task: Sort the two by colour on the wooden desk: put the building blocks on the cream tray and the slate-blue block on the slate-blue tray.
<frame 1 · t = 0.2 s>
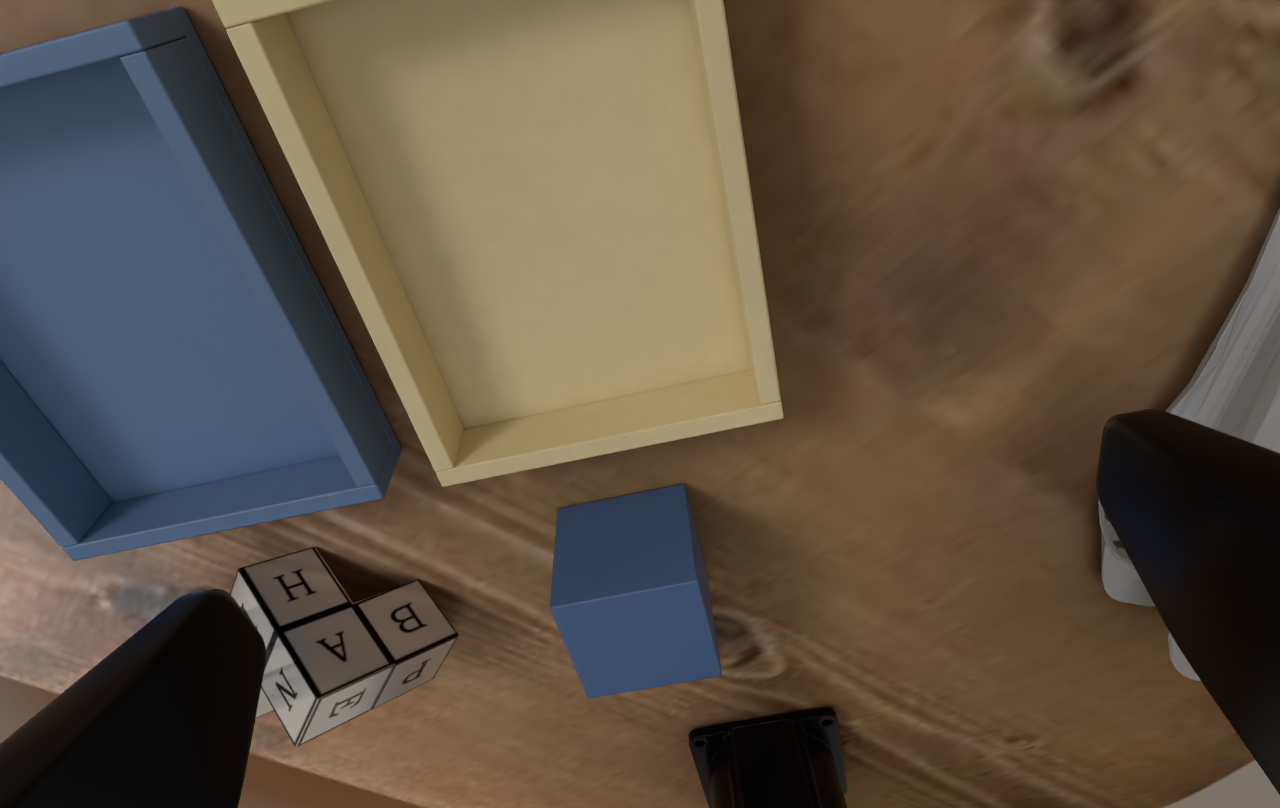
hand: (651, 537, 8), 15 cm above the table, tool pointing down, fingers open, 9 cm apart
cream tray: (550, 208, 21), on the table
slate-blue tray: (143, 303, 22), on the table
building blocks: (323, 597, 29), on the table
blue block: (634, 542, 28), on the table
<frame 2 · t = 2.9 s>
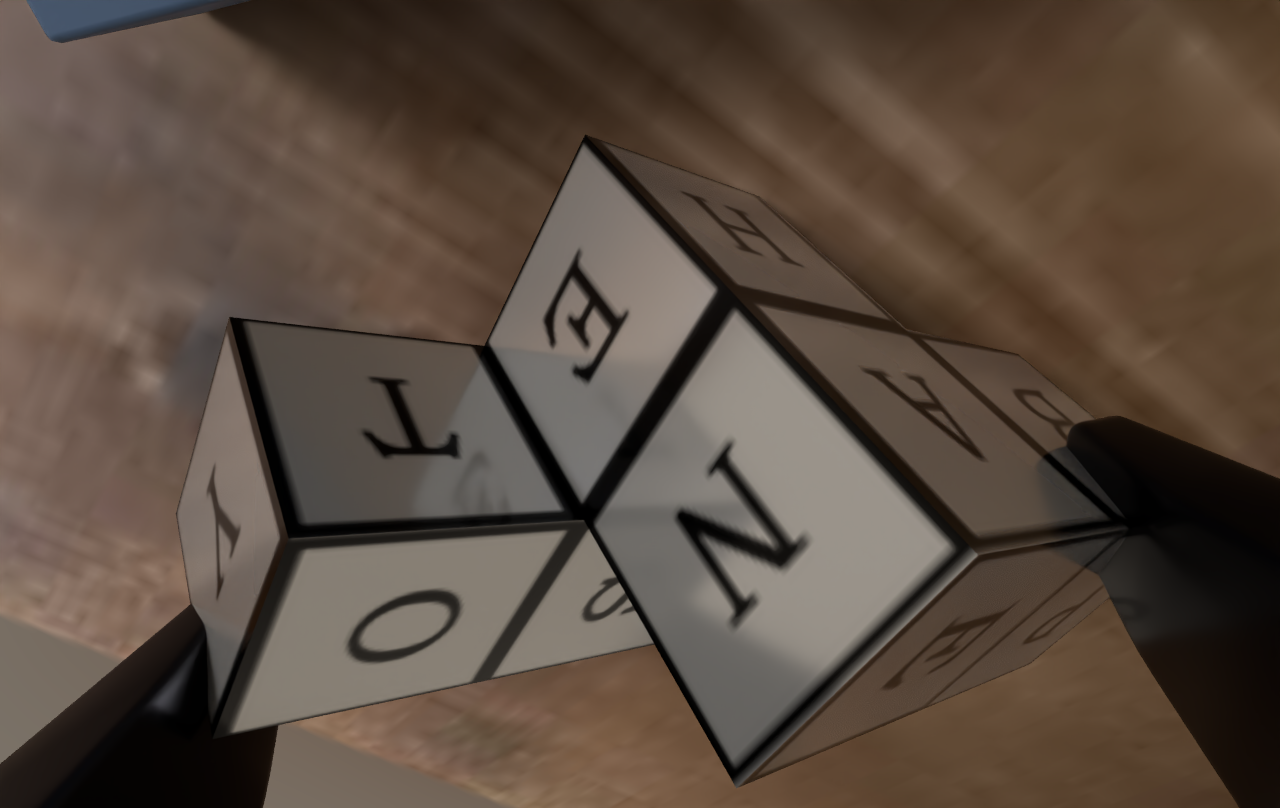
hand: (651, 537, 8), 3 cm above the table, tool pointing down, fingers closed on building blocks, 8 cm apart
building blocks: (714, 393, 11), on the table, touching gripper
when the fingers open (5 cm above the table, at t = 8.7 s): building blocks stays where it is, resting on cream tray.
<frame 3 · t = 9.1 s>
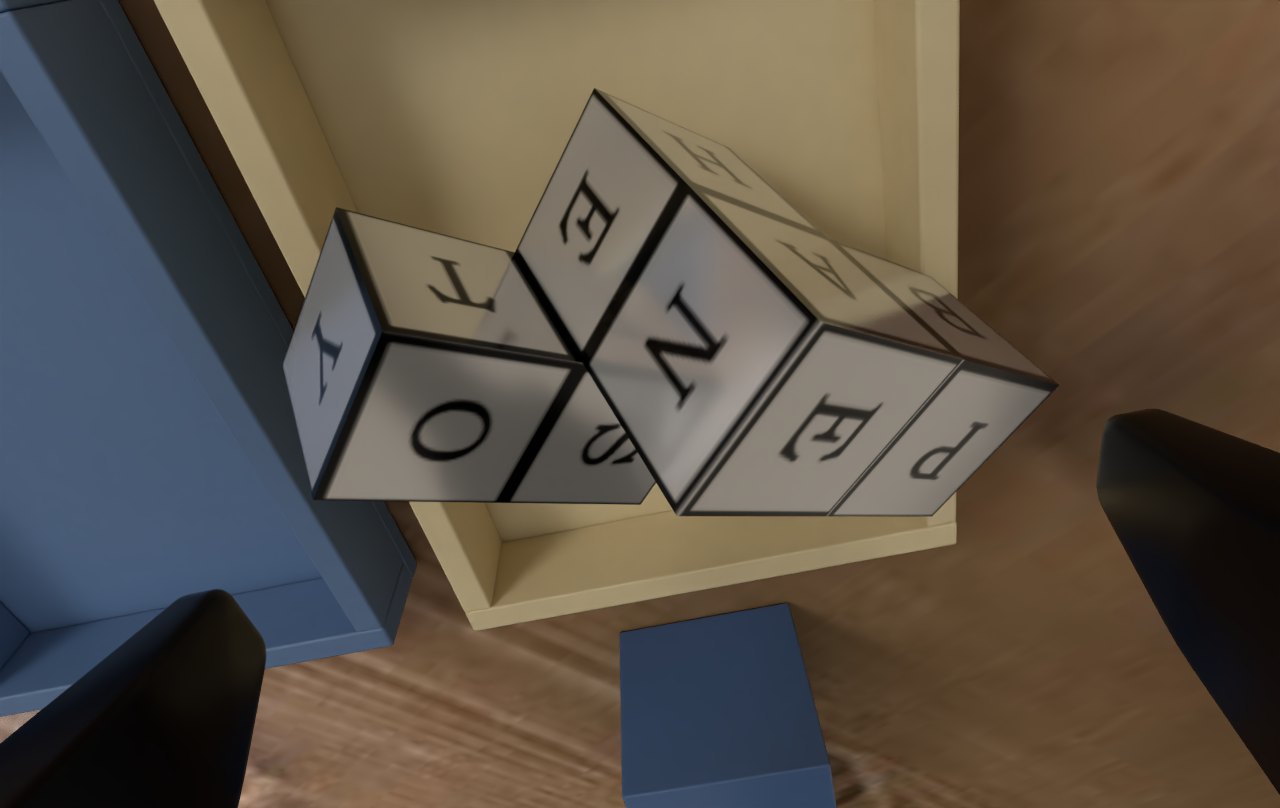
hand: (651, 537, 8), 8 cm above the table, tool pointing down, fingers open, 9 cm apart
cream tray: (635, 251, 14), on the table
slate-blue tray: (58, 380, 16), on the table
building blocks: (695, 311, 14), point 2 cm above the table, touching cream tray
blue block: (716, 671, 21), on the table
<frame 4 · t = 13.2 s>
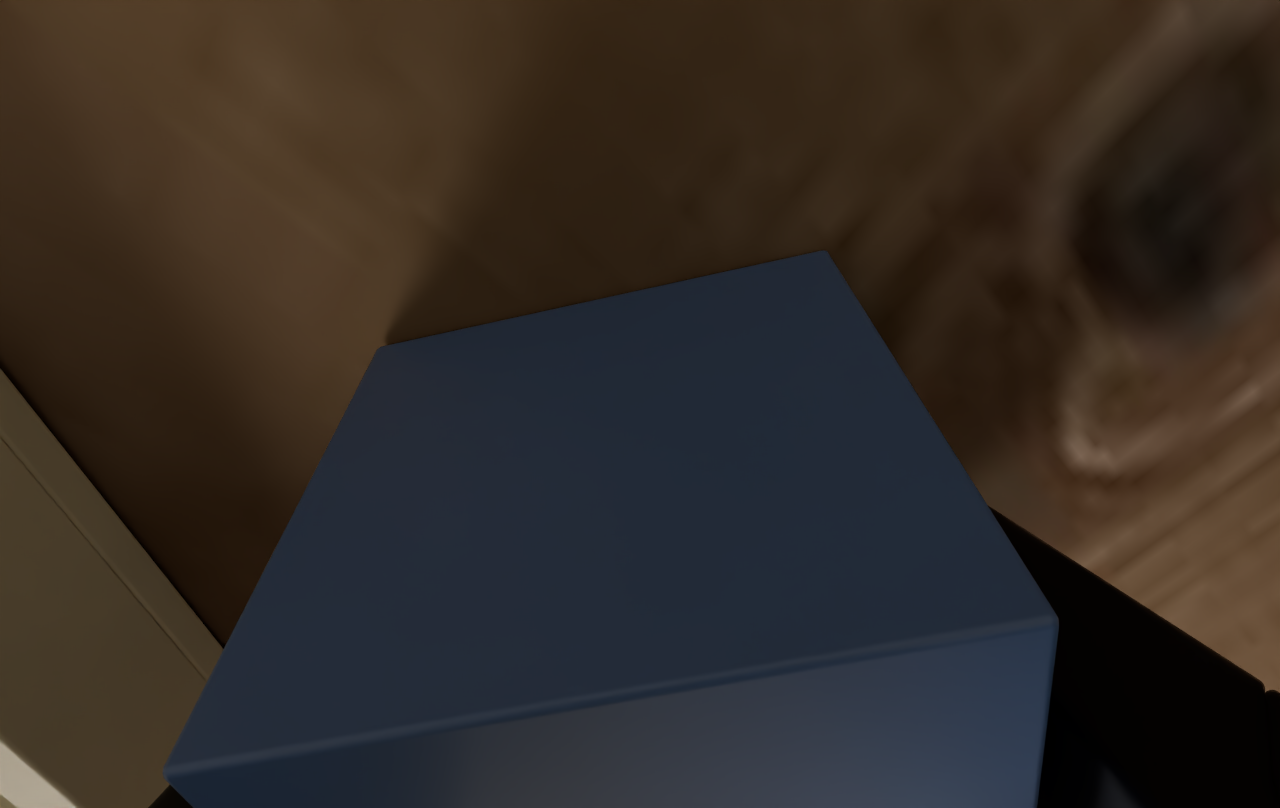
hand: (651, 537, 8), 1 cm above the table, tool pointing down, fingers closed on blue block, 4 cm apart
blue block: (644, 474, 9), on the table, touching gripper
when the fingers open (1 cm above the table, at t = 18.6 s): blue block stays where it is, resting on slate-blue tray.
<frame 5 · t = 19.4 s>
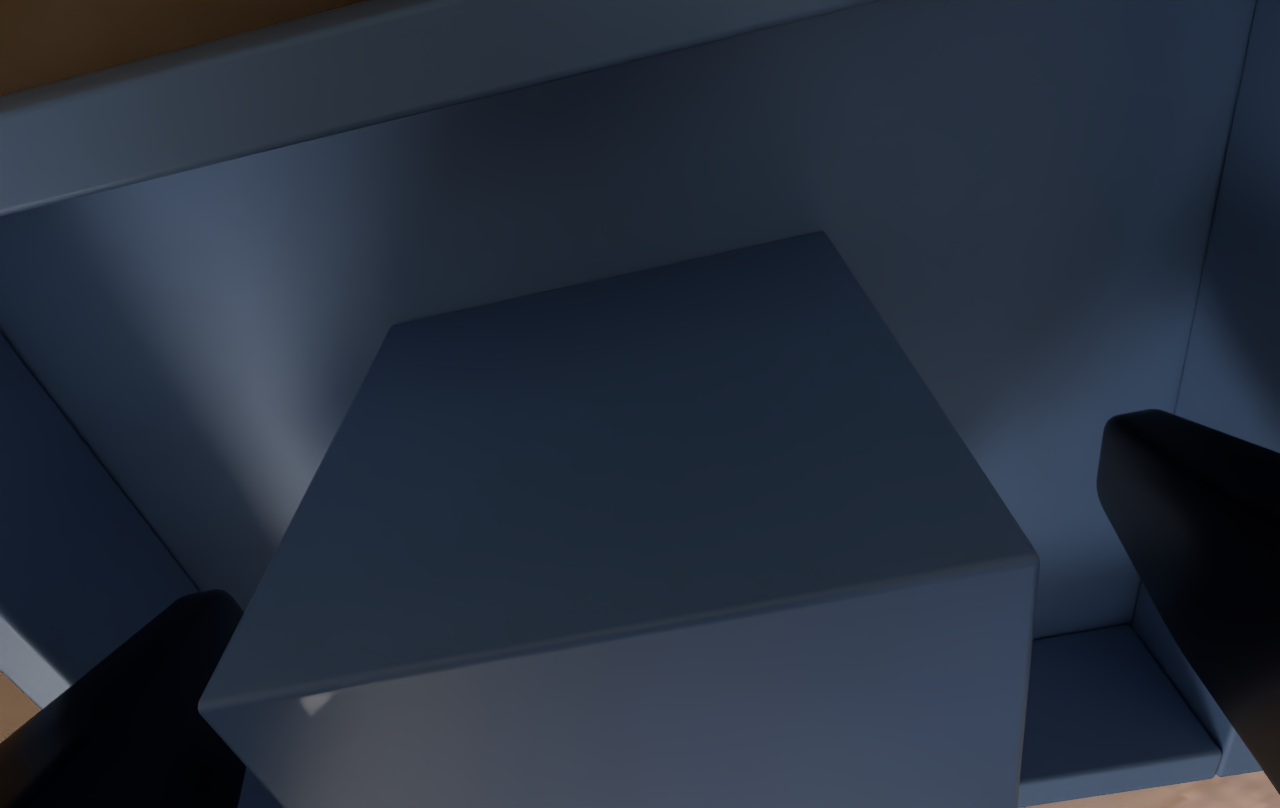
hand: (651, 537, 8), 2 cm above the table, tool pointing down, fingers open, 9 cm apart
slate-blue tray: (646, 431, 9), on the table
blue block: (648, 452, 9), resting on slate-blue tray
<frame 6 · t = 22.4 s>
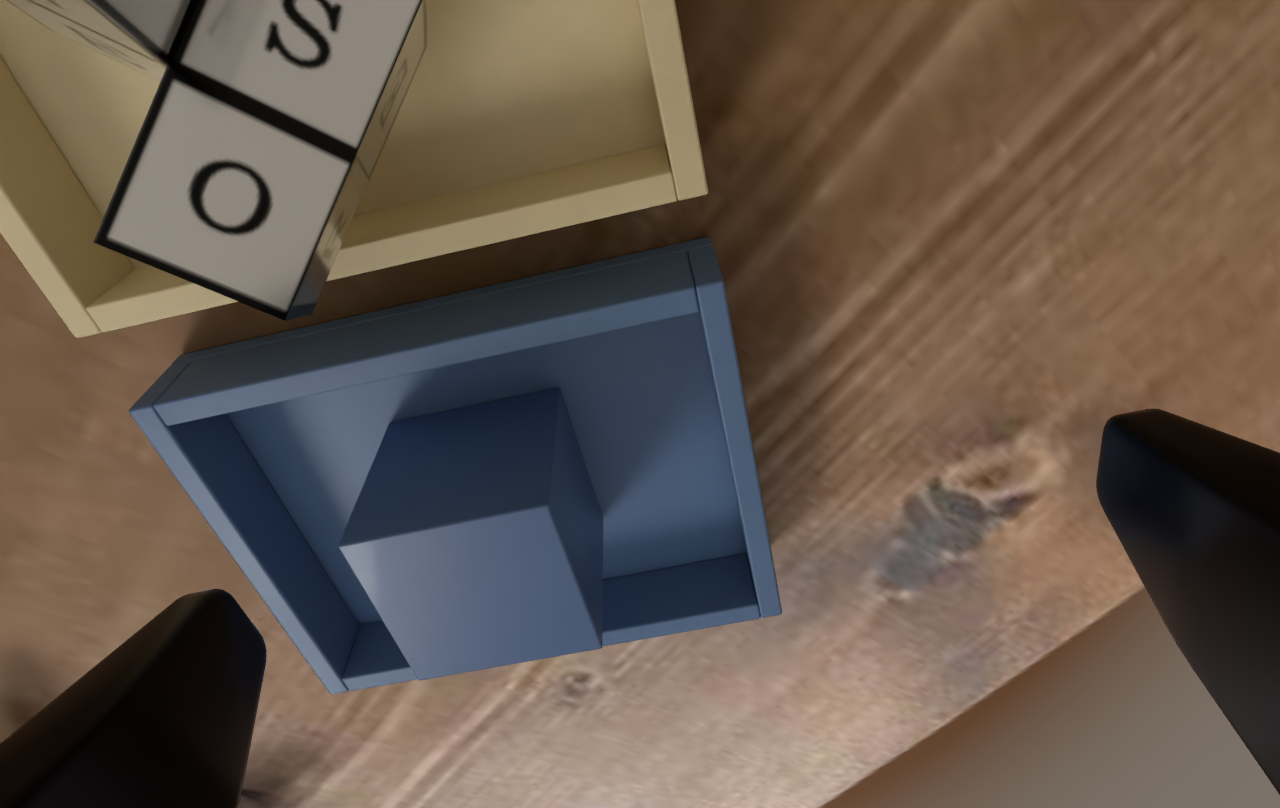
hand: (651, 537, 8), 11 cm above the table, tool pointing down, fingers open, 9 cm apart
slate-blue tray: (503, 462, 21), on the table
blue block: (501, 472, 21), resting on slate-blue tray
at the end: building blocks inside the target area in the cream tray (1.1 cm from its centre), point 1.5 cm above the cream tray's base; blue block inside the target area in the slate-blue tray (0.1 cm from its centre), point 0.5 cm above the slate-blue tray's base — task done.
